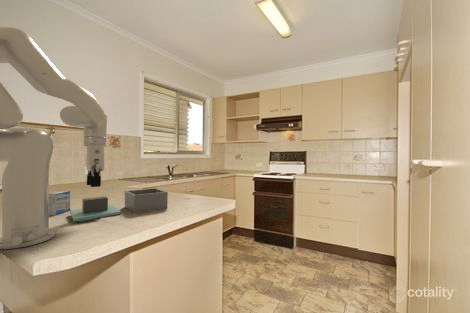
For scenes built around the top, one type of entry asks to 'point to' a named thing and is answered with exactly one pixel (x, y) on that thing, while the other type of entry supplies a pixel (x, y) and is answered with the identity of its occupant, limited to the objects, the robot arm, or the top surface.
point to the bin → (145, 200)
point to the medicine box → (59, 202)
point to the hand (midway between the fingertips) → (93, 185)
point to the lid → (94, 209)
